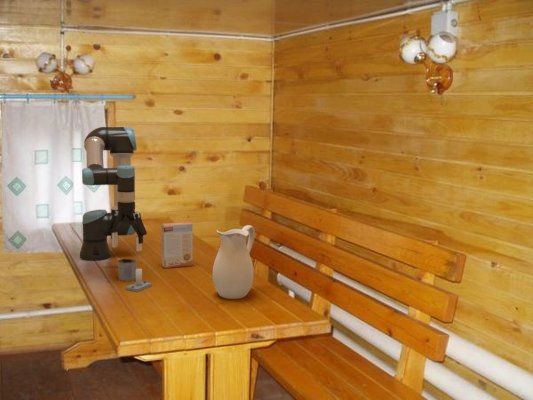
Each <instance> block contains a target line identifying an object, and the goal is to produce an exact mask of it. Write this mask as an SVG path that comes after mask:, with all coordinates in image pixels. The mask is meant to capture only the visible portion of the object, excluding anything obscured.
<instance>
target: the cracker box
mask: <svg viewBox="0 0 533 400" xmlns="http://www.w3.org/2000/svg"><path fill="white" fill-rule="evenodd" d="M160 227H161V228H160V229H161V230H160V231H161V233H160V234H161V236H160V237H161V267H163V268H164V269H171V268H172V269H173V268H183V267H193V264H194V263H193V261H194V260H193V259H194V255H193V252H194V251H193V250H194V249H193V245H194V244H193V223H192V222H190V221H180V222H167V223H166V222H163V223H161V225H160Z"/></svg>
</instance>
